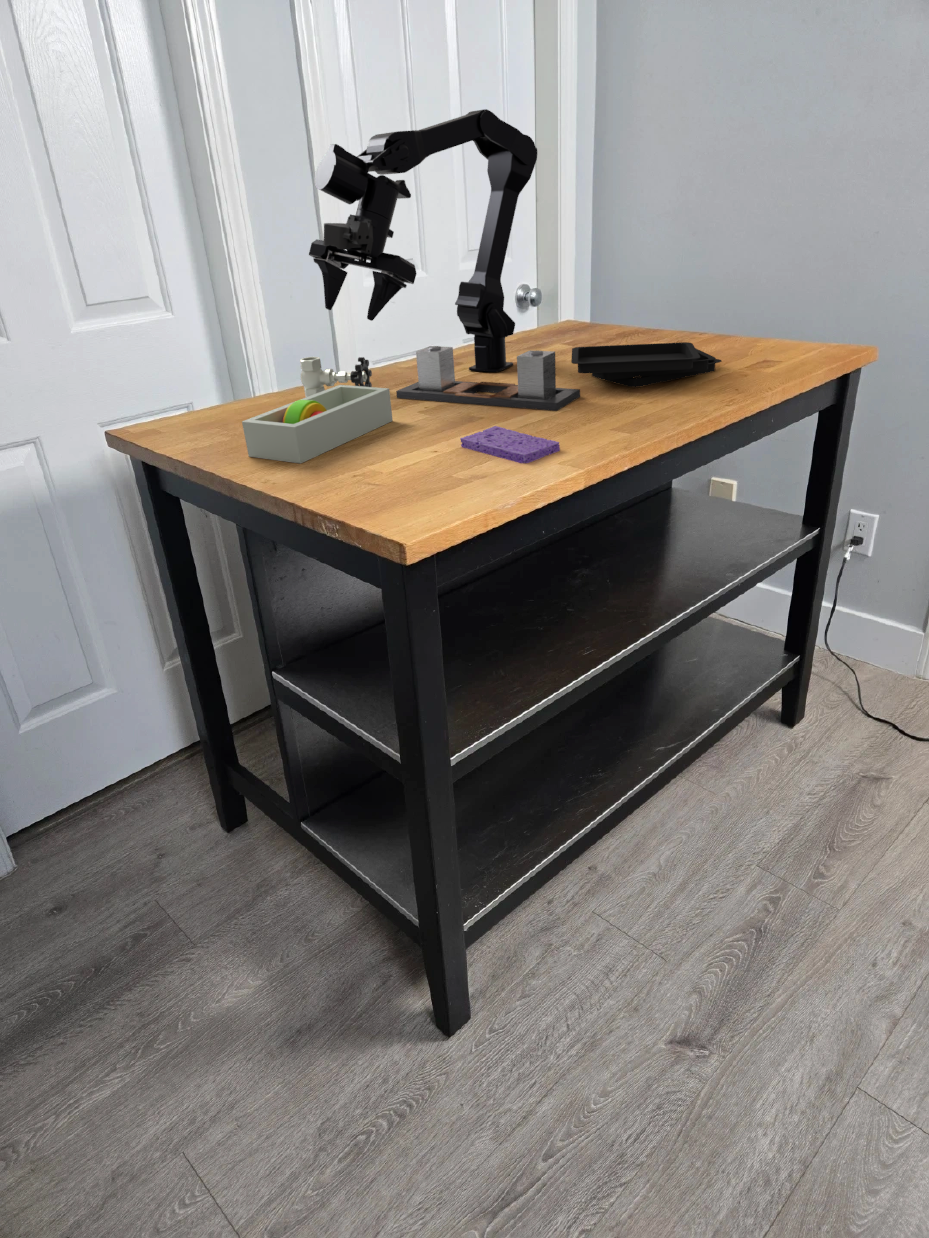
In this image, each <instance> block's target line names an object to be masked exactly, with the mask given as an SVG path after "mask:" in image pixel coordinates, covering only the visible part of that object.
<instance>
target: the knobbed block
mask: <svg viewBox="0 0 929 1238" xmlns="http://www.w3.org/2000/svg"><path fill="white" fill-rule="evenodd" d="M415 356H416V357H415V358H416V368H417V377H418V378H417V379H418V382H419V391H431V392H443V391H445V390H447V389H449V388H452V387H454V386H455V381H456V377H455V374H456V373H455V362H454V347H453V346H440V345H433V346H432V345H430V346H427V347H424V348H422V349H419V350H416V351H415Z"/></svg>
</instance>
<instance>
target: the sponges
mask: <svg viewBox="0 0 929 1238" xmlns="http://www.w3.org/2000/svg"><path fill="white" fill-rule="evenodd" d="M459 438H460V443H461V444H460V447H461V448H464V449H467V450H471V451H475V452H479V453H483V454H484V455H485V454H486V455H489V456H492V457H498V458H501V459H504V460H508V461H512V462H515V463H518V464H529V463H532V462H534V461H537V460H539V459H542V458H544V457H546V456H550V455H552V454H555V453H559V452H560V450H561V448H560V442H559V441H556V440H552V439H548V438H543V437H539V436H538V437H536V436H535V435H534V436H533V435H530V434H527V433H521V432H519V431H515V430H511V429H507V428H505V427H501V426H497V425H494V426H492V427H489V428H486V429H484V430H482V431H477V432H475V433H474V434H470V435H466V436H464V437H459ZM549 454H550V455H549Z"/></svg>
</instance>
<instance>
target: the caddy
mask: <svg viewBox="0 0 929 1238" xmlns="http://www.w3.org/2000/svg"><path fill="white" fill-rule="evenodd" d="M390 392H391V391H390V388H389V387H388V388H387V387H374V386H372V387H363V386H360V385H359V386H355V385H349V384H348V385H346V384H345V385H344V384H338V385H336V386H335V385H334V386H331V387H330V388H327V389H325V390H324V391H322V392H319V393H316V394H314V395H311V396H308V397H306V396H305V397H303V398H301V399H299V400H313V401H317V402H319V403H320V404H322V405H323V406H324V407H325V408H326V410H327V411H325V412H322V413H320V414H317V415H315V416H313V417H310V418H308V419H305V420H303V421H300V422H298V423H295V424H288V423H282V422H283V417H284V415H285V412H286V410H287V408H288V407H289V406H290V405H291V404H292V403H294V402H295V401H292V402H290V403H287V404H284V405H282V406H279V407H277V408H274V409H271V410H269V411H266V412H263V413H261V414H258V415H256V416H252V417H251V418H247V419H245V420H242V421H241V424H242V428H243V429H242V430H243V434H244V441H245V444H246V448H247V455H248V457H250V458H258V459H264V460H265V459H266V460H270V461H271V460H272V461H281V462H287V463H293V464H294V463H295V464H302V463H305V462H307V461H309V460H311V459H314V458H316V457H318V456H320V455H322V454H324V453H326V452H329V451H330V450H332V449H335V448H337V447H339V446H342V445H344V444H345V443H348V442H350V441H353V440H355V439H357V438H358V437H361V436H362V435H365V434H367V433H370V432H372V431H374V430H376V429H378V428H380V427H382V426H385V425H387V424H389V423H390V422H393V412H392V411H393V410H392V402H391V393H390Z"/></svg>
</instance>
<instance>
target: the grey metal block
mask: <svg viewBox="0 0 929 1238" xmlns="http://www.w3.org/2000/svg"><path fill="white" fill-rule="evenodd" d="M516 367H517V368H516V369H517V385H518V398H525V399H538V400H548V399H550V398H551V397H553V396H555V395H556V388H557V384H556V382H557V381H556V378H557V377H556V376H557V374H556V372H557V371H556V351H550V350H540V349H539V350H530V349H529V350H528V351H526V352H523V353H521V354H519V355H516Z"/></svg>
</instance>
